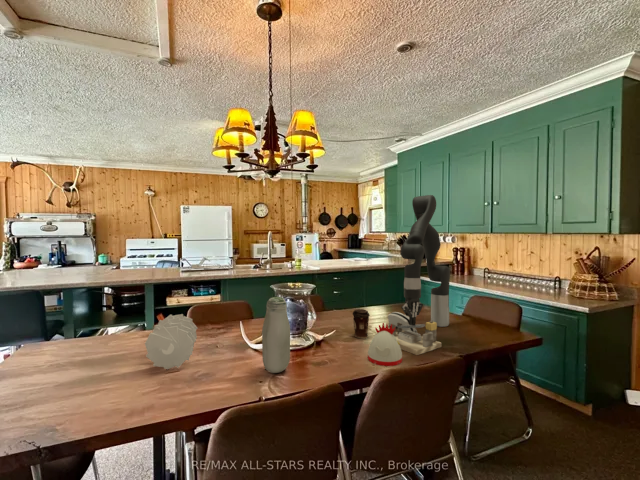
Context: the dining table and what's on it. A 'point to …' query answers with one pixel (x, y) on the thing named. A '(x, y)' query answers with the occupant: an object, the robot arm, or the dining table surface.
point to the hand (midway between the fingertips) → (412, 324)
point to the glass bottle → (276, 336)
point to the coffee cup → (361, 323)
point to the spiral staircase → (171, 341)
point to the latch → (431, 325)
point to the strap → (411, 326)
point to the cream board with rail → (416, 340)
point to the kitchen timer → (385, 348)
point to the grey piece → (400, 320)
